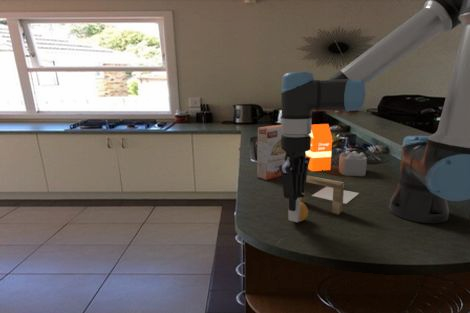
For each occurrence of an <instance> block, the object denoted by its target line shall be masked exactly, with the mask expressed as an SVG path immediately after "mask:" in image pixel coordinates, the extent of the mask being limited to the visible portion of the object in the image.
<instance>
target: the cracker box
mask: <svg viewBox="0 0 470 313" xmlns="http://www.w3.org/2000/svg"><path fill="white" fill-rule="evenodd" d="M281 128H282V124H277V125H267V126H261V127H257V149H256V150H257V151H256V152H257V154H256V156H257V159H256V163H257V164H256V165H257V166H256V169H257V170H256V177H257V178H258V179H262V180H265V181H268V180H272V179H277V178H279V177H282V176H281V172H280V169H279V166H280V165H284V163H285V155H286V152H285V151H284V150H282V149H281V136H282V135H284V134H282V132H281Z"/></svg>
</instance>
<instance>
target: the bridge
mask: <svg viewBox="0 0 470 313" xmlns="http://www.w3.org/2000/svg"><path fill="white" fill-rule="evenodd" d="M306 183H309V184H315V185H320V186H325V187H331V188H333V201H332V206H331V208H332V209H331V213H332V214H334V215H340V214H341V213H343V204H344V203H343V194H344V190H345V182H344V181H338V180H335V179H334V180H333V179H327V178H322V177H318V176H312V175H308V174H307V178H306ZM302 194H303V195H304V198H302V197H300V202H302V203H304V204H305V202H306V201H305V200H306V191H305V192H304V193H302Z"/></svg>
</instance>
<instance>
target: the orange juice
mask: <svg viewBox="0 0 470 313" xmlns="http://www.w3.org/2000/svg"><path fill="white" fill-rule="evenodd" d="M309 135H310V137H311V148H310V150H309V151H305V152H306V157H310V161H309V165H308V170H309V171H310V172H319V171H321V172H322V170H323V171H331V166H332V148H333V136H332V132H331V129H330V125H329V123H319V124H318V123H317V124H312V126H311V133H310V134H309Z"/></svg>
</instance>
